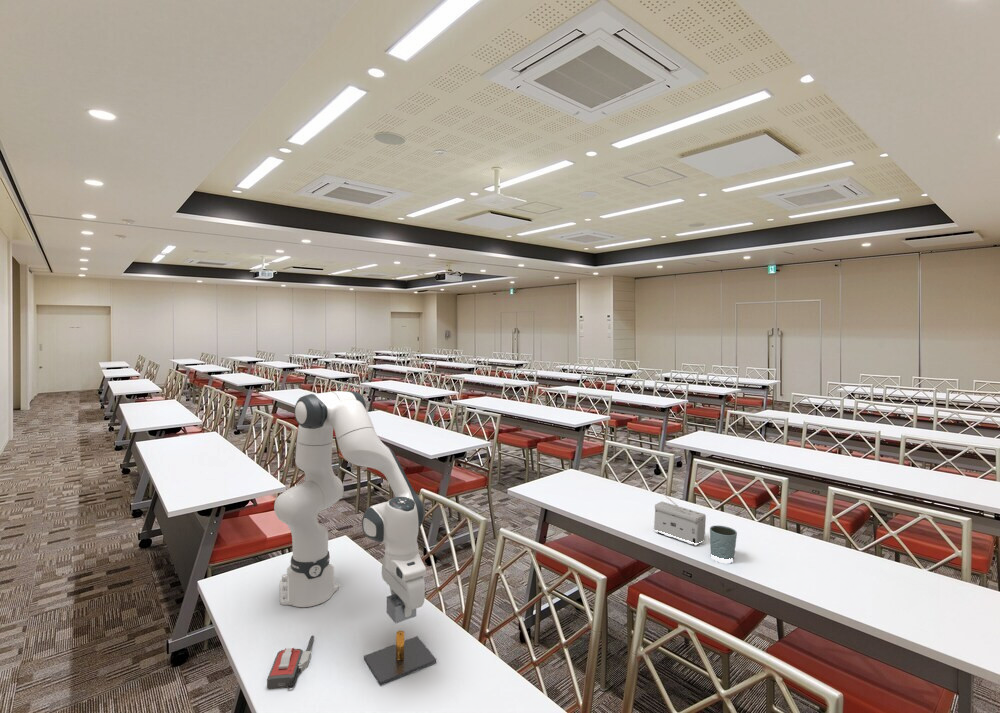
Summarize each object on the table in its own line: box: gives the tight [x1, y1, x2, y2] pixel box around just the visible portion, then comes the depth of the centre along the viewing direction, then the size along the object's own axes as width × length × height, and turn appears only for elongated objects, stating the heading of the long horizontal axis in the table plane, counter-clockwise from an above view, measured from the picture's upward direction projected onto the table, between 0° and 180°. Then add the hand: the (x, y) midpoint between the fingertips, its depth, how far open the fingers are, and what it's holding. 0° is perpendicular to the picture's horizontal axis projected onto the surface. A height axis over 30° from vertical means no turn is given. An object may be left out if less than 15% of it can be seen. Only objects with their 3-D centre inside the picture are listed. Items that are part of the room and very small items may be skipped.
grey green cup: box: [709, 525, 738, 559], centre depth 202 cm, size 10×10×12 cm
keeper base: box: [363, 630, 437, 687], centre depth 136 cm, size 12×16×8 cm
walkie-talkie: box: [266, 634, 315, 690], centre depth 134 cm, size 9×4×20 cm
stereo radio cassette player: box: [653, 489, 707, 543], centre depth 221 cm, size 21×8×20 cm, turn 44°
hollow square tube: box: [386, 594, 417, 624], centre depth 135 cm, size 6×6×4 cm
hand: (401, 608), depth 135 cm, fingers closed on hollow square tube, 6 cm apart
